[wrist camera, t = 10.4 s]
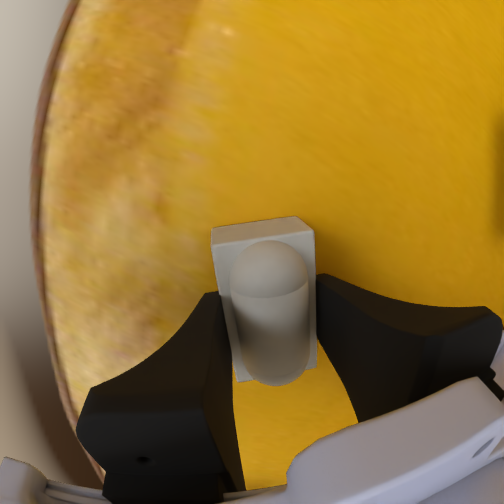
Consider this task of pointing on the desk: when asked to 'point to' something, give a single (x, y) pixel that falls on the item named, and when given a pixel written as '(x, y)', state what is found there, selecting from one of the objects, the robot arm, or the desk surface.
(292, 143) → the desk surface
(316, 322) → the robot arm
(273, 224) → the capsule relief tile
